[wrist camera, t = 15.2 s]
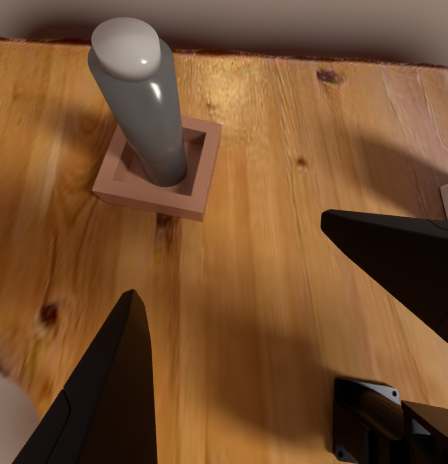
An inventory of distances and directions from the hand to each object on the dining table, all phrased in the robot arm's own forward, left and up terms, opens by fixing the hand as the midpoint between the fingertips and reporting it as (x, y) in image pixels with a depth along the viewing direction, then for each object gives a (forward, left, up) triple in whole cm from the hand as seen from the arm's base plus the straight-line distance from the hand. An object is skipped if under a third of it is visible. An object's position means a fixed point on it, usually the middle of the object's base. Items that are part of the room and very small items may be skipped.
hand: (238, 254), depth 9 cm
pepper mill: (+8, -11, -13) cm, 19 cm away
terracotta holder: (+8, -11, -14) cm, 19 cm away
